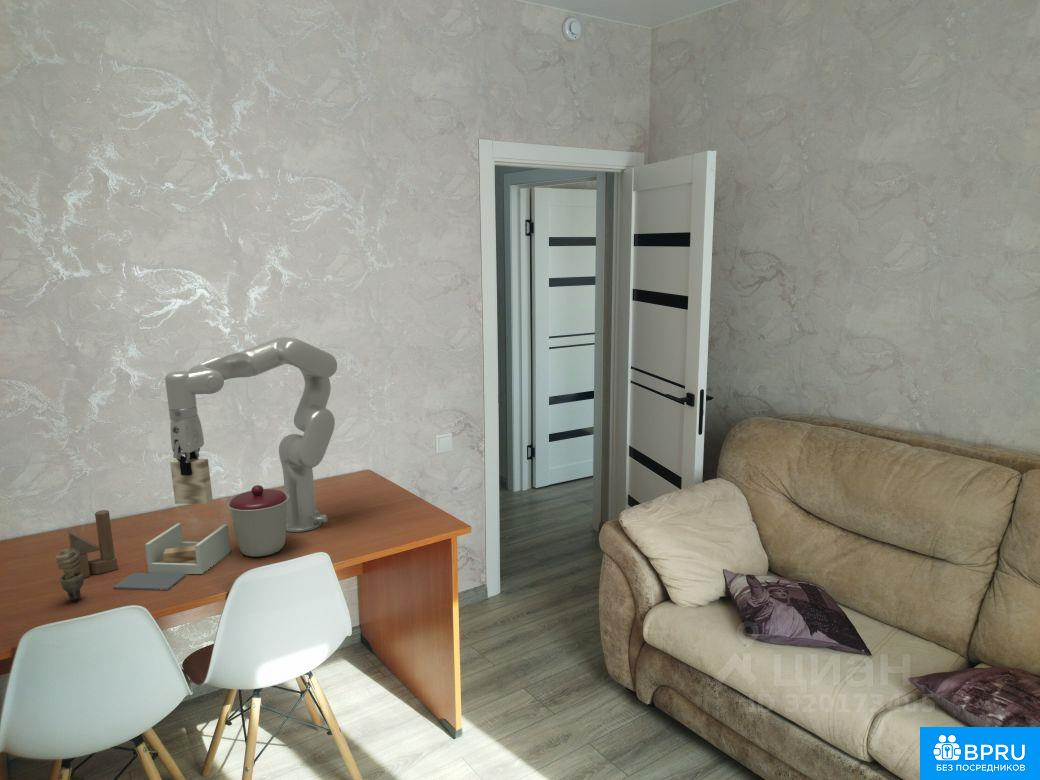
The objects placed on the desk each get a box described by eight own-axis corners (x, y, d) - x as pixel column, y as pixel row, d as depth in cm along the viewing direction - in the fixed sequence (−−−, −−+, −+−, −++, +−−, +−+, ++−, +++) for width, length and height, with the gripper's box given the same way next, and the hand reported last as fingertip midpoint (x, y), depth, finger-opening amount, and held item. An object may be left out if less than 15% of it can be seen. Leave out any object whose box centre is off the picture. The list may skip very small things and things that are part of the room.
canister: (287, 535, 239) (282, 473, 235) (298, 554, 223) (292, 489, 220) (228, 546, 231) (222, 482, 227) (235, 567, 215) (228, 499, 211)
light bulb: (80, 605, 194) (72, 551, 191) (58, 606, 193) (50, 553, 190) (90, 595, 199) (82, 543, 196) (69, 596, 199) (61, 544, 196)
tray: (230, 551, 227) (227, 524, 225) (201, 575, 211) (198, 545, 209) (180, 550, 229) (177, 523, 227) (148, 573, 212) (144, 544, 211)
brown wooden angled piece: (74, 576, 212) (65, 517, 208) (115, 565, 218) (108, 508, 215) (76, 580, 209) (67, 520, 205) (118, 569, 215) (110, 511, 212)
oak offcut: (202, 553, 219) (201, 544, 219) (201, 559, 215) (200, 549, 215) (166, 558, 216) (165, 548, 216) (164, 563, 212) (163, 554, 212)
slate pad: (185, 576, 210) (185, 574, 210) (167, 590, 201) (167, 588, 201) (133, 574, 212) (133, 572, 212) (113, 588, 203) (113, 586, 203)
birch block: (212, 500, 222) (207, 458, 220) (206, 504, 219) (201, 462, 216) (181, 499, 223) (176, 458, 221) (175, 503, 220) (170, 462, 217)
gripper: (179, 420, 207) (187, 481, 211) (210, 407, 223) (216, 464, 227) (154, 420, 208) (162, 481, 212) (187, 407, 224) (193, 464, 228)
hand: (190, 472), depth 219 cm, fingers closed on birch block, 3 cm apart
